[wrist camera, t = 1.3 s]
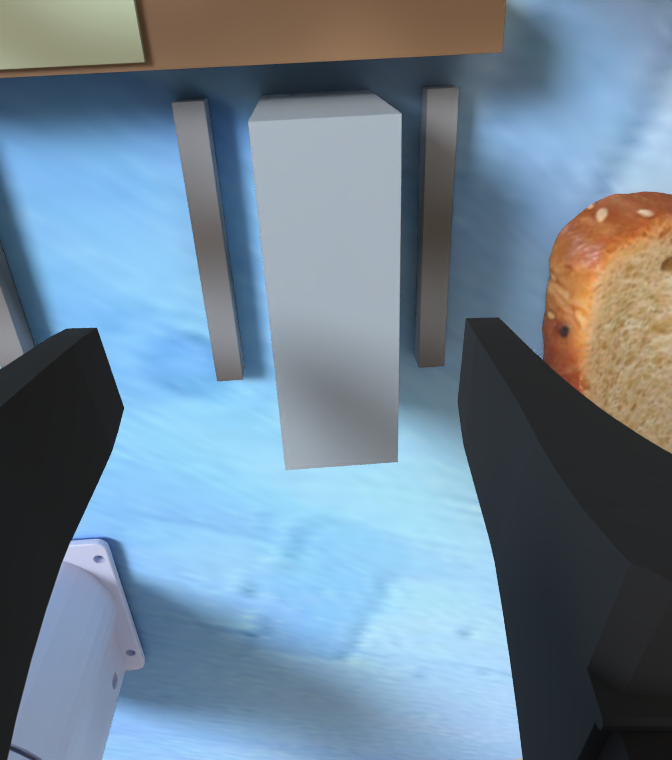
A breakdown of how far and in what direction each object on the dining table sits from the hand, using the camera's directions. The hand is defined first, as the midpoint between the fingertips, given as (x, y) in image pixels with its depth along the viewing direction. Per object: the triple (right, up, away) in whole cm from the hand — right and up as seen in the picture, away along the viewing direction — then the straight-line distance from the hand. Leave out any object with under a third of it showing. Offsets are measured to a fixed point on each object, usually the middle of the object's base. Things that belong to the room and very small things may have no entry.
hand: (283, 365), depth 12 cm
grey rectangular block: (+1, +5, +10) cm, 11 cm away
